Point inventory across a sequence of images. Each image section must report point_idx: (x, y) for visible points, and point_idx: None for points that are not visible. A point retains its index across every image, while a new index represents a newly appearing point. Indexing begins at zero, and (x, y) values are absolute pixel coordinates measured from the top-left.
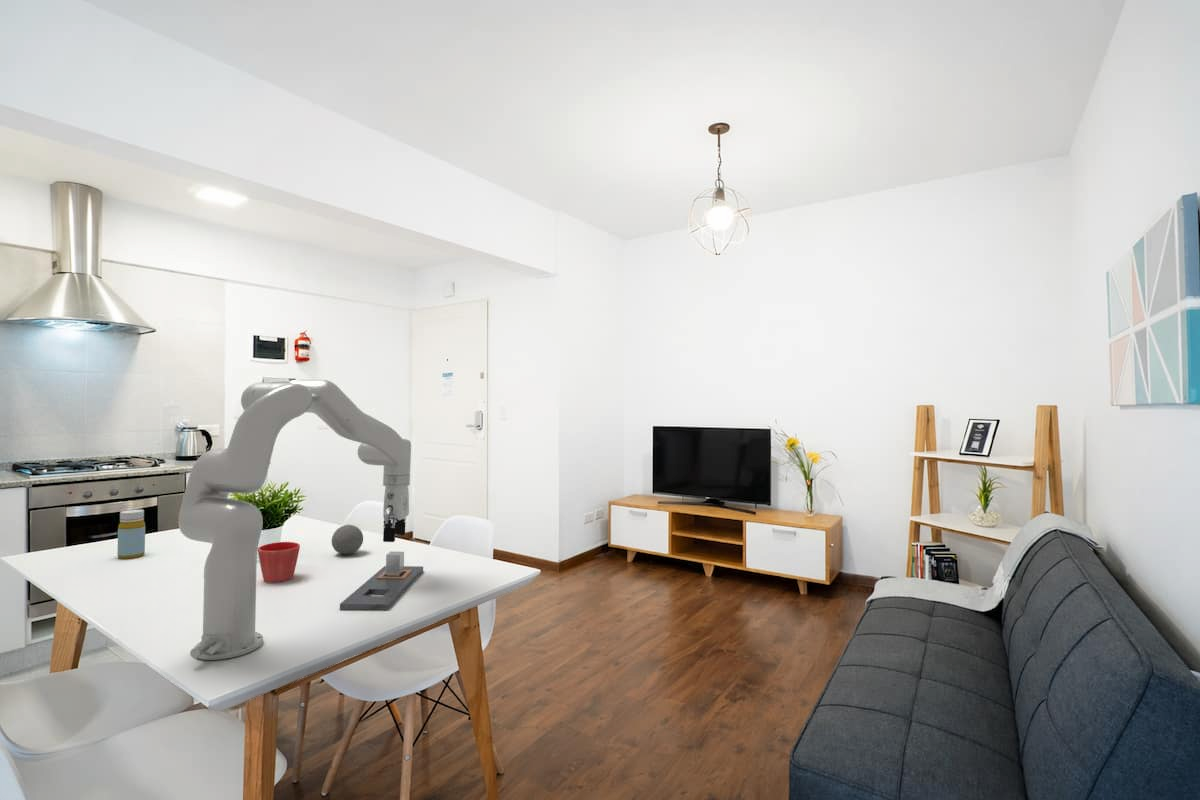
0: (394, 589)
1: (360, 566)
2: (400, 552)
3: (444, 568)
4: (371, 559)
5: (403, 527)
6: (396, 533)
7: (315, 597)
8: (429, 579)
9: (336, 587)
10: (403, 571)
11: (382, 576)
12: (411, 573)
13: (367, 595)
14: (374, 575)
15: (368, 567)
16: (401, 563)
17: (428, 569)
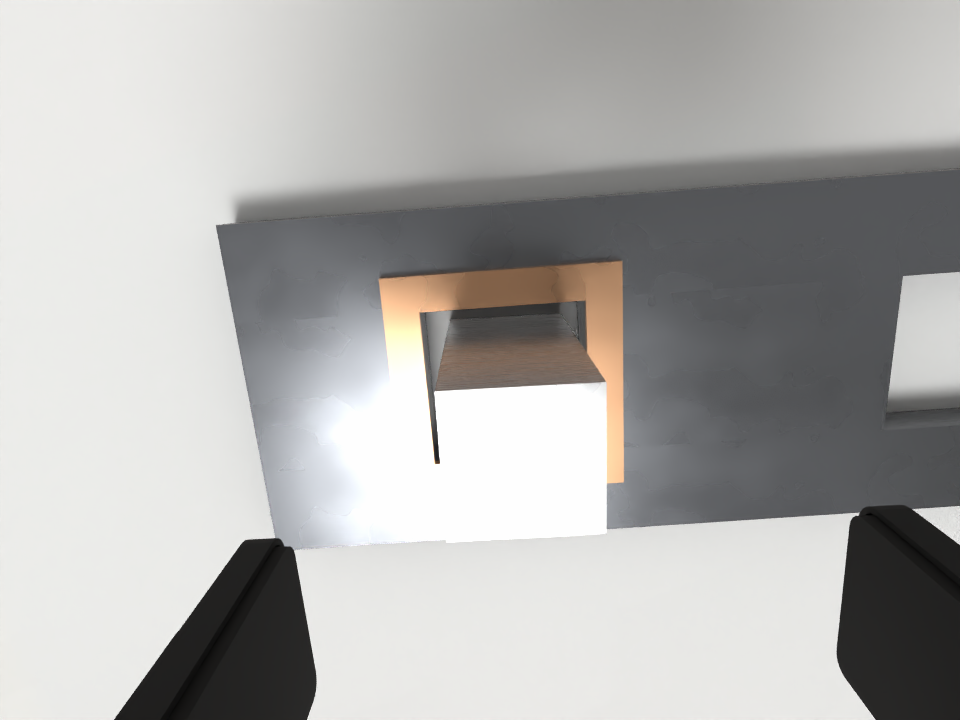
0: (910, 234)
1: None
2: (479, 420)
3: (96, 43)
4: (35, 716)
5: (240, 650)
6: (307, 669)
7: None
8: (459, 77)
9: (692, 667)
10: (453, 332)
11: None
12: (450, 256)
13: (900, 414)
14: None
15: None
16: (524, 353)
17: (168, 194)
